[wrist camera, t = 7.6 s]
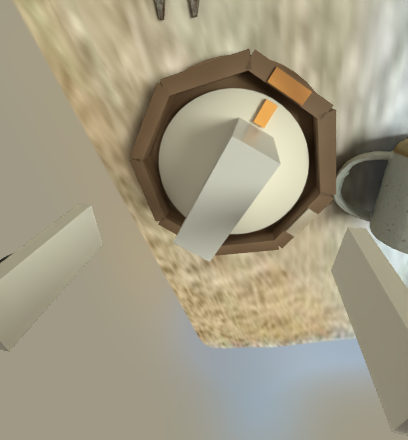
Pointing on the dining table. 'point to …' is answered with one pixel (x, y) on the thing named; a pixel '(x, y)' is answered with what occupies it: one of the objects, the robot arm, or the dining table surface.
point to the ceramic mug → (384, 197)
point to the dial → (231, 166)
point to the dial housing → (261, 82)
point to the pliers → (161, 7)
